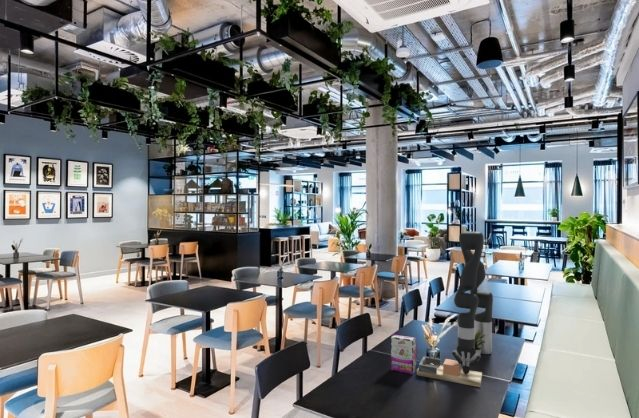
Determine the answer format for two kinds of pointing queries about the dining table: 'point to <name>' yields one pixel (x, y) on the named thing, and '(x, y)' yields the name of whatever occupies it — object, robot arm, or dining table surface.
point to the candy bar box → (403, 354)
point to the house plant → (478, 349)
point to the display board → (437, 373)
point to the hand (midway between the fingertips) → (466, 373)
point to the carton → (451, 367)
